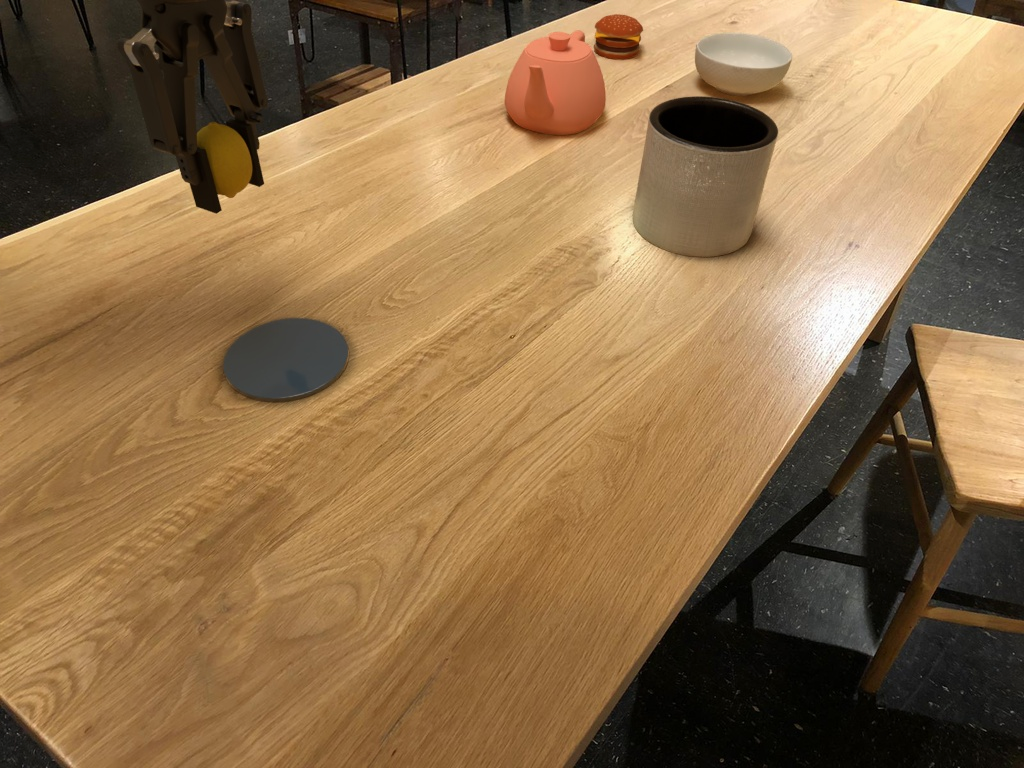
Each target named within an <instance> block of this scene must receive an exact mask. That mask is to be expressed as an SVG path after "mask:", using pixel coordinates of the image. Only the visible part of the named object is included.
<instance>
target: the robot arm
mask: <svg viewBox="0 0 1024 768" xmlns="http://www.w3.org/2000/svg"><path fill="white" fill-rule="evenodd" d="M136 1H137V2H138V5H139V6H140V12H141V14H140V15H141V16H140V17H141V18H140V27H141V29H140V30H139V31H138V32H137V33H136V34H135V35H134V36H133V37H132V38H130V39H129V38H125V37H121V38H120V39H119V40H118V41H117V50H118V51H119V53H120V54H121V56H122V58H123V60H124V61H125V62H126V64H127V66H128V67H129V71H130V74H131V77H132V80H133V85H134V87H135V92H136V95H137V99H138V103H139V106H140V109H141V113H142V117H143V120H144V124H145V128H146V131H147V134H148V135H147V136H148V139H149V141H150V145H151V147H152V149H154V150H157V151H159V152H163V153H166V154H169V155H171V156H172V155H173V156H175V159H176V163H177V166H178V168H179V173H180V176H181V178H182V180H183V181H184V182H185V183H188V184H189V187H190V190H191V193H192V197H193V201H194V204H195V207H196V208H198V209H201V210H204V211H207V212H210V213H213V214H215V215H217V214H219V213H220V212H222V211H223V210H222V206H221V203H220V198H219V194H217V190H216V187H215V183H214V179H213V175H212V172H211V168H210V164H209V160H208V157H207V153H206V149H203V148H200V147H197V133H198V131H197V130H198V129H197V105H196V85H195V84H196V83H195V78H196V77H197V76H198V75H199V61H201V60H203V62H204V64H205V66H206V68H207V70H208V72H209V74H210V76H211V78H212V80H213V81H214V85H215V86H216V88H217V90H218V92H219V94H220V97H221V98H222V100H223V102H224V104H225V106H226V108H227V110H228V112H229V114H230V116H232V117H233V118H234V119H233V118H229V119H228V120H225V125H226V126H228V127H230V128H232V129H234V130H235V131H236V132H237V133H238V134H239V135H240V136H241V137H242V138H243V140H244V141H245V143H246V145H247V147H248V150H249V153H250V156H251V161H252V176H251V179H250V182H249V183H248V185H252V186H255V187H258V188H260V187H262V186H264V185H265V181H264V175H263V171H262V166H261V162H260V157H259V153H258V151H259V149H260V145H261V144H260V139H259V135H258V129H257V124H258V125H259V124H261V123H262V121H263V119H264V116H263V113H261V112H259V111H260V110H261V109H262V110H265V109H267V107H268V103H269V102H268V101H269V100H268V97H267V92H266V87H265V83H264V79H263V76H262V71H261V67H260V62H259V57H258V54H257V49H256V45H255V40H254V35H253V31H252V6H251V5H250V4H249V3H247V2H243V1H236V0H136ZM155 47H157V51H156V48H155Z"/></svg>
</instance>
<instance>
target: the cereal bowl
mask: <svg viewBox="0 0 1024 768" xmlns="http://www.w3.org/2000/svg"><path fill="white" fill-rule="evenodd" d="M694 52H695V53H694V64H695V69H696V72H697V73H698V75H699V76H700V78H701V79H702V80H703V81H704V82H705V83H706V84H708V85H710V86H712V87H714V88H715V89H716V90H717V91H719V92H721V93H722V94H725V95H730V96H736V97H746V96H751V95H754V94H759V93H763V92H766V91H769V90H772V89H774V88H775V87H776V86H777V85H778V84H780V83H781V82H782V81H783V80H784V79H785V77H786V76H787V73H788V72H789V69H790V67H791V64H792V61H793V54H792V51H791V50H790V49H789V48H788V47H787V46H786V45H784V43H782V42H779V41H777V40H775V39H772V38H769V37H766V36H763V35H759V34H754V33H747V32H718V33H713V34H708V35H706V36H704V37H702V38H700V39H699V40H698V41H697V43H696V45H695V50H694Z"/></svg>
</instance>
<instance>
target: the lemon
mask: <svg viewBox="0 0 1024 768" xmlns="http://www.w3.org/2000/svg"><path fill="white" fill-rule="evenodd" d="M197 147H200V148H203V149H206V153H207V157H208V160H209V164H210V168H211V172H212V175H213V179H214V183H215V187H216V190H217V194H218V196H219V195H220V196H225V197H227V198H228V199H233V198H235V197H236V195H237V194H238V193H241V192H242V191H244V190H246V189H245V188H246V187H247V186H248V185H249V182H250V179H251V176H252V161H251V156H250V153H249V150H248V147H247V145H246V143H245V141H244V140H243V138H242V137H241V136H240V135H239V134H238V133H237V132H236V131H235V130H234V129H232V128H230V127H228V126H226V124H221V123H218V122H216V121H211V122H208V124H207V125H206V126H203V127H202V128H201V129H199V131H197Z"/></svg>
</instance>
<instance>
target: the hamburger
mask: <svg viewBox="0 0 1024 768" xmlns="http://www.w3.org/2000/svg"><path fill="white" fill-rule="evenodd" d="M594 29H595V30H596V31H595V33H594V39H595V42H594V44H593V50H594V53H596V54H597V55H598V56H601V57H602V58H603V57H604V58H607V59H610V60H611V59H612V60H627V59H632V58H634V57H637V56H638V55H639V53H640V42H641V41H642V36H641V34H642V32H644V27H643V25H642V24H641V23H640V22H639V20H638V19H637V18H635V17H633V16H630V15H627V14H619V13H618V14H617V13H615V14H610V15H609V14H607V15H605V16H603V17H602V18H600V19H598V21H596V23H594Z"/></svg>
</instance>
